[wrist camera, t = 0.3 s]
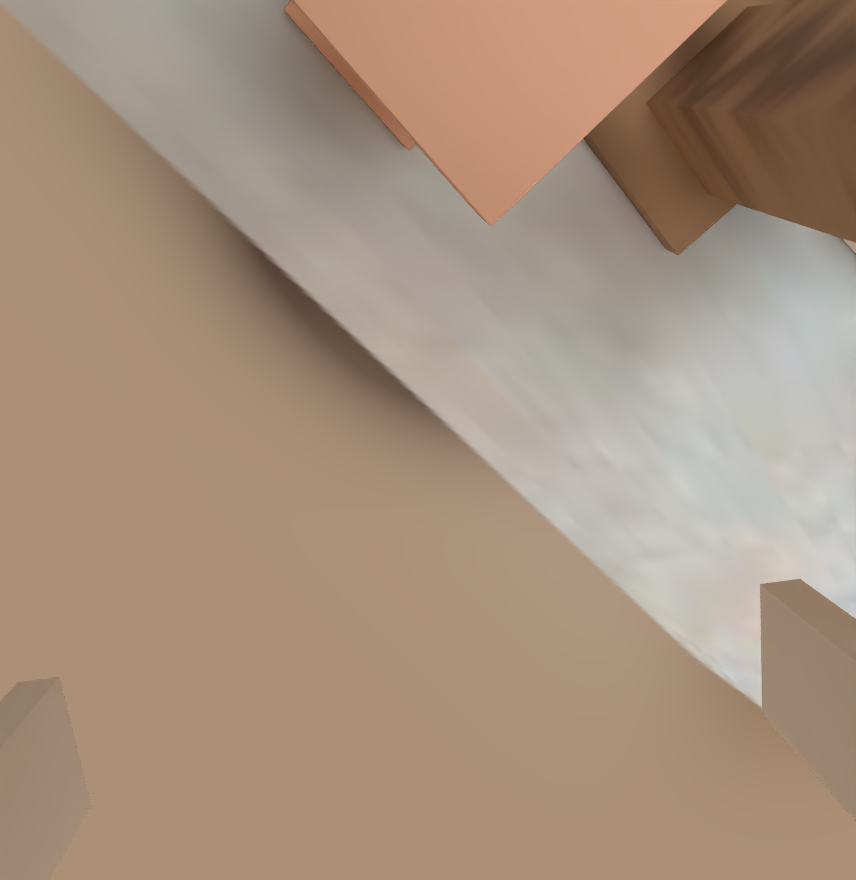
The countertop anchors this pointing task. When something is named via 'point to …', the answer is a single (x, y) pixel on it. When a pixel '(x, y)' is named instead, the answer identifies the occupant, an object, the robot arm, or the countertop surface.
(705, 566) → the countertop surface
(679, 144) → the walnut stand
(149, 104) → the countertop surface
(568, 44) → the terracotta stand
